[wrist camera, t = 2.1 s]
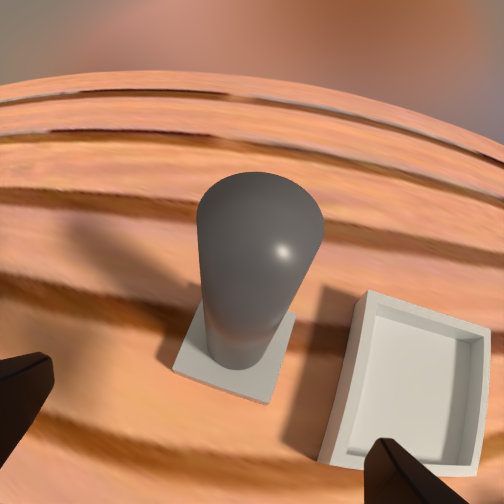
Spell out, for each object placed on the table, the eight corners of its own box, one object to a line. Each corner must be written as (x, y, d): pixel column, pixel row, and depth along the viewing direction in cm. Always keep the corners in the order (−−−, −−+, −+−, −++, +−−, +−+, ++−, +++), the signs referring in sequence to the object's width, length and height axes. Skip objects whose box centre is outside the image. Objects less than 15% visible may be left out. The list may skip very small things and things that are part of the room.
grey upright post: (265, 405, 19) (345, 351, 7) (174, 373, 19) (113, 270, 8) (291, 321, 22) (370, 181, 10) (208, 294, 22) (204, 131, 11)
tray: (454, 476, 16) (476, 476, 14) (316, 462, 17) (329, 464, 15) (472, 340, 22) (490, 329, 20) (354, 304, 23) (368, 289, 21)
